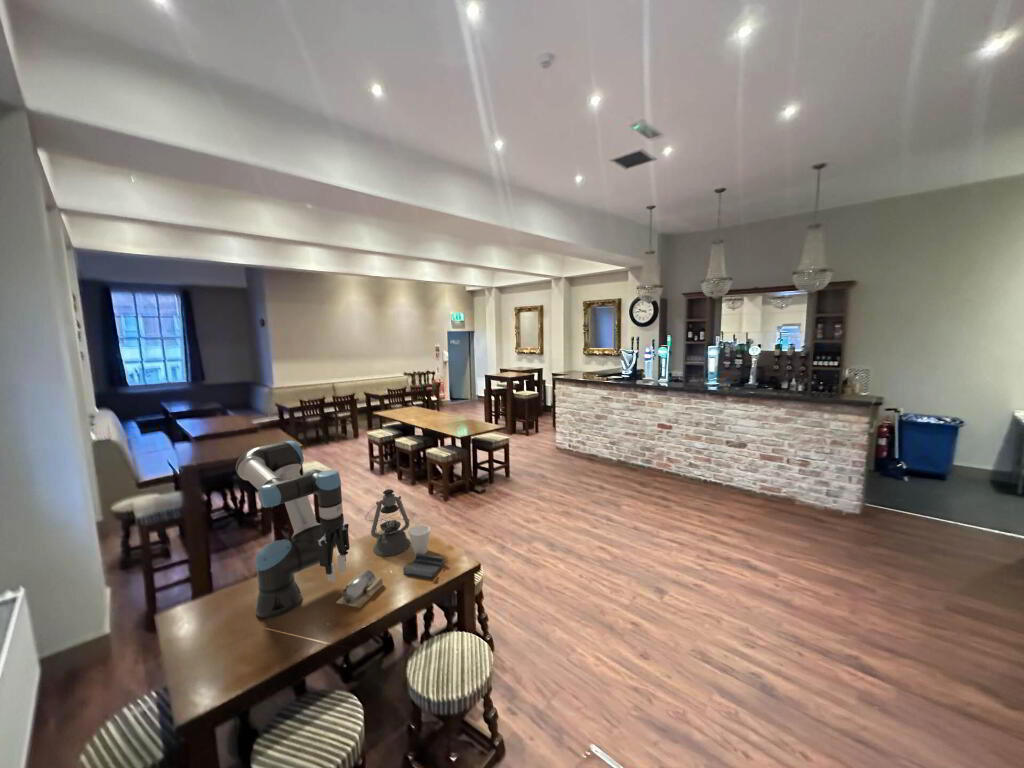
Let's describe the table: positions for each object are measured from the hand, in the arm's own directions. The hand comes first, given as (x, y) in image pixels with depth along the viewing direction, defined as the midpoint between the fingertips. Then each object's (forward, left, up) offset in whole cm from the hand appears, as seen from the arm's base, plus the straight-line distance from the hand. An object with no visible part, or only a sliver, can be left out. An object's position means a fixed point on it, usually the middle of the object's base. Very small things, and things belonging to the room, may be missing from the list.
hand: (337, 576), depth 145 cm
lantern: (-9, +46, -15) cm, 49 cm away
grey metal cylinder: (0, +11, -14) cm, 18 cm away
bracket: (0, +11, -15) cm, 18 cm away
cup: (+8, +44, -15) cm, 47 cm away
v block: (+17, +32, -15) cm, 39 cm away
